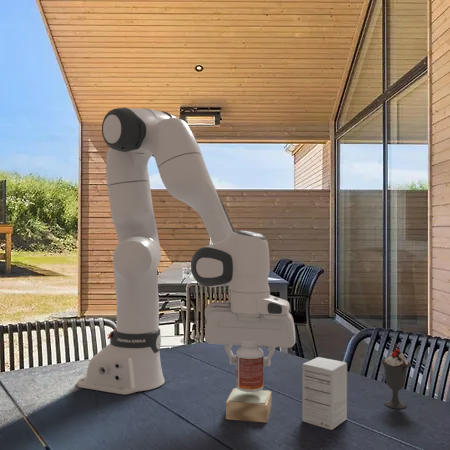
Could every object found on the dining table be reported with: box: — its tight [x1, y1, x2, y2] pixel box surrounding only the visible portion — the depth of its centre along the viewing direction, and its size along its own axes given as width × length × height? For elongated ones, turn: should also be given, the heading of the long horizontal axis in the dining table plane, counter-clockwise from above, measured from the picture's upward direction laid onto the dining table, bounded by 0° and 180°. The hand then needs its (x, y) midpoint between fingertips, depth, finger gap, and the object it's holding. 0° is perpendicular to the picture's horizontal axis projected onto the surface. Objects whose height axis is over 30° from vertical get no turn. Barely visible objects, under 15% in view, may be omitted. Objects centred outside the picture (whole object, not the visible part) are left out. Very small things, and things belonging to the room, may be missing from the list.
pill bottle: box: [235, 341, 265, 392], centre depth 111 cm, size 6×6×11 cm
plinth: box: [225, 387, 273, 424], centre depth 112 cm, size 9×9×4 cm
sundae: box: [380, 343, 412, 410], centre depth 117 cm, size 7×7×15 cm
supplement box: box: [301, 356, 348, 431], centre depth 108 cm, size 7×7×13 cm
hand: (249, 364), depth 111 cm, fingers closed on pill bottle, 6 cm apart
